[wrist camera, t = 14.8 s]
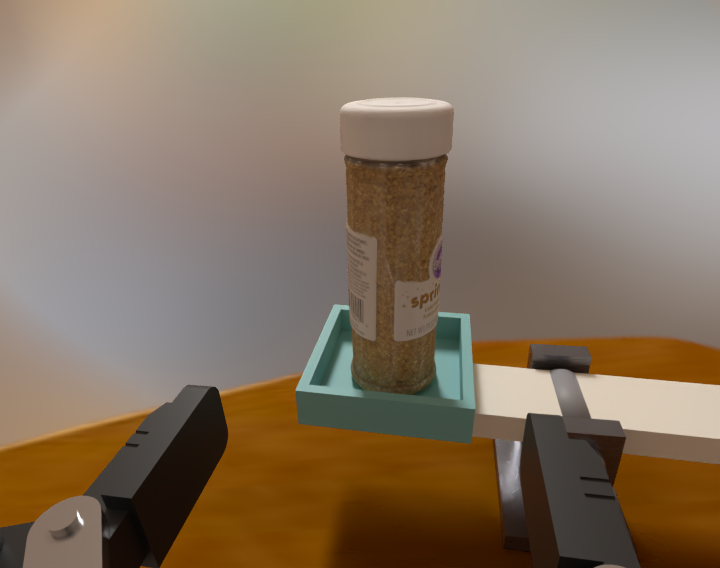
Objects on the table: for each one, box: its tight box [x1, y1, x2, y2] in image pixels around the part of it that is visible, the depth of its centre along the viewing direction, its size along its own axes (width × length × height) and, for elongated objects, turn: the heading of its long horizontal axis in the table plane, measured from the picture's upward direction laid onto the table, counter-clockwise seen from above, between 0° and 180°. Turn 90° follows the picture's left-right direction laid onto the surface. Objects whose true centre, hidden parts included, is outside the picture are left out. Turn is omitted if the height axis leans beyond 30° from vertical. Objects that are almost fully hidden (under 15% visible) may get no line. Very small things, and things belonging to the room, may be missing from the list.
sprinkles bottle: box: [340, 98, 454, 395], centre depth 22 cm, size 5×5×14 cm
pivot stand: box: [493, 344, 637, 553], centre depth 25 cm, size 6×8×8 cm
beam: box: [295, 305, 720, 464], centre depth 23 cm, size 26×8×6 cm, turn 80°
